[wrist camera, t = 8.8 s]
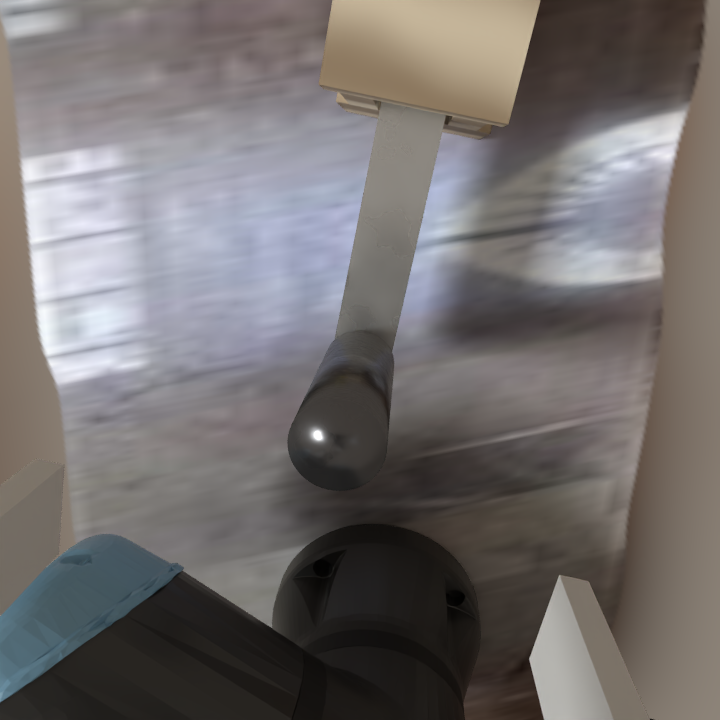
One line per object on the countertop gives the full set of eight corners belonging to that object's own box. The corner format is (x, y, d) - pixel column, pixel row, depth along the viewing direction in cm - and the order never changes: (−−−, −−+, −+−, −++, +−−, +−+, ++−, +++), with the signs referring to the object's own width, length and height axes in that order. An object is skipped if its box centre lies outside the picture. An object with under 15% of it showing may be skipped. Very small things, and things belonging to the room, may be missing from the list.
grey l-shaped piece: (388, 384, 35) (375, 500, 22) (326, 370, 35) (280, 478, 23) (501, -110, 28) (575, -343, 15) (423, -126, 28) (434, -371, 15)
